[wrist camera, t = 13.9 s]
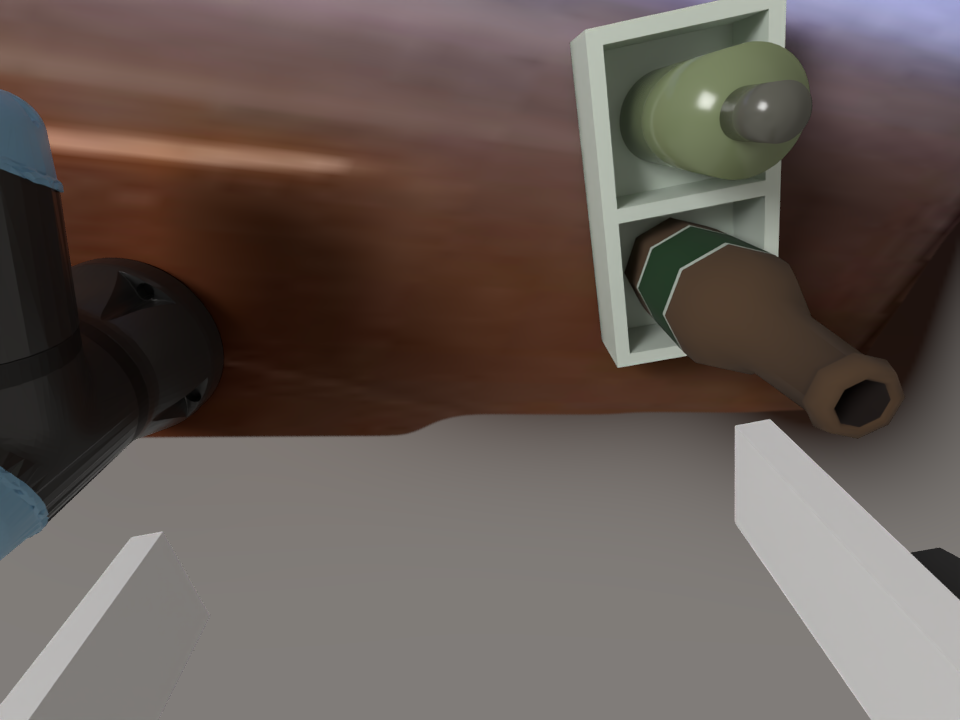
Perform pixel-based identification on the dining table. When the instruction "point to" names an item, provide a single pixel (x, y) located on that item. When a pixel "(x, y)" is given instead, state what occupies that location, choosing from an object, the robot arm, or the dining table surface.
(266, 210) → the dining table surface
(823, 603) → the robot arm
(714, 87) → the olive bottle
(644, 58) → the caddy
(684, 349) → the beer bottle
